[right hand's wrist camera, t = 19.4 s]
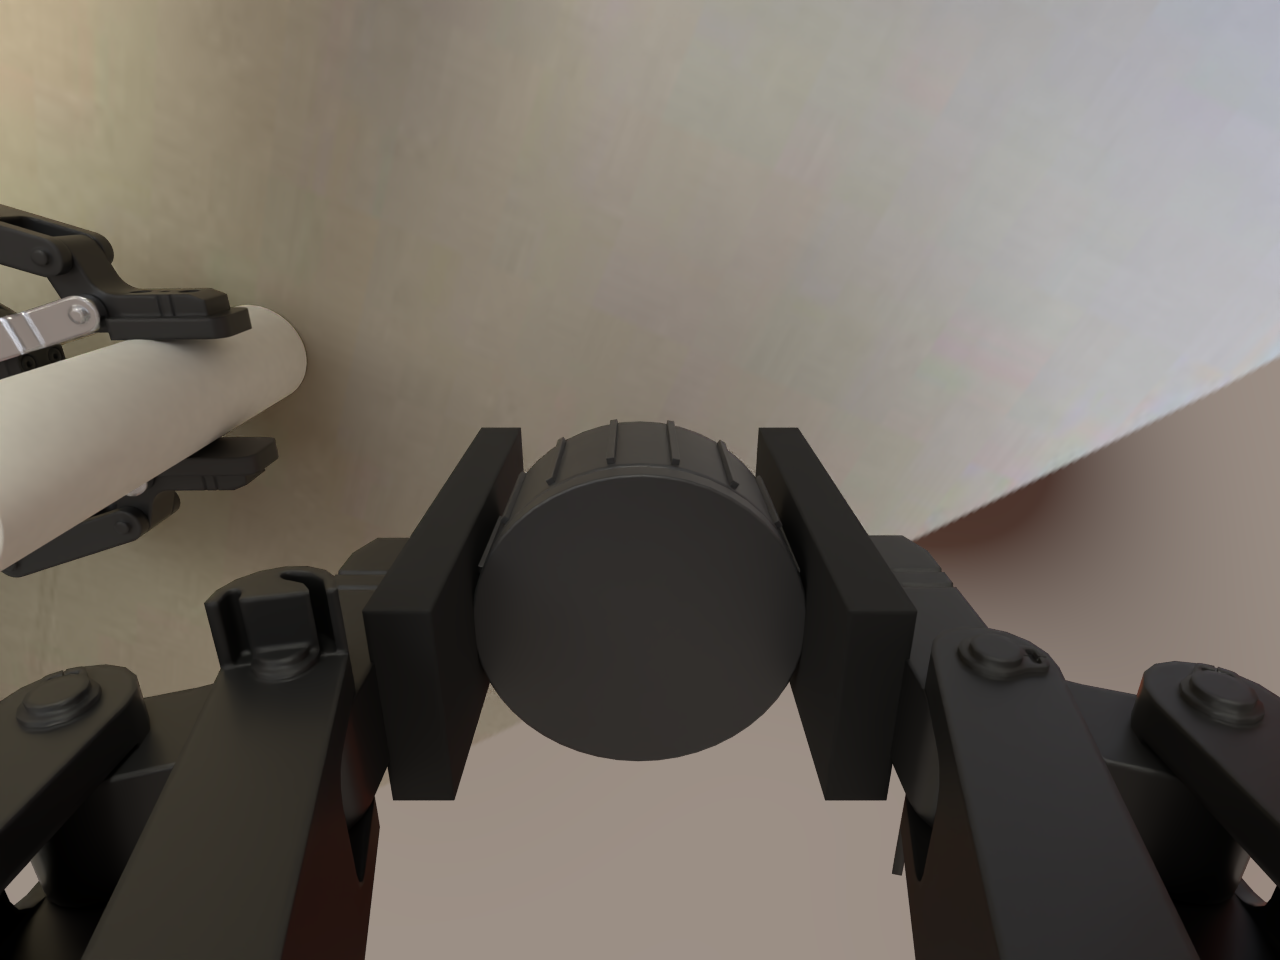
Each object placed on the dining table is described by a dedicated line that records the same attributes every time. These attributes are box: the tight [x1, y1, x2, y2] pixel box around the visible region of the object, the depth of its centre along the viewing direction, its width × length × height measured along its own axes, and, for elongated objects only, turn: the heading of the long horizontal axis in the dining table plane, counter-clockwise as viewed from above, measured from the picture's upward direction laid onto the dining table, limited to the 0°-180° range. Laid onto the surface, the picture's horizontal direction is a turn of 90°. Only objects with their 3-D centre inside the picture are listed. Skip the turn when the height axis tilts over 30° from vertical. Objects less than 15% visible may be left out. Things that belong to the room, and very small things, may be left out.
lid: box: [473, 419, 806, 761], centre depth 11 cm, size 5×5×2 cm
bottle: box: [0, 305, 307, 572], centre depth 23 cm, size 4×4×18 cm
